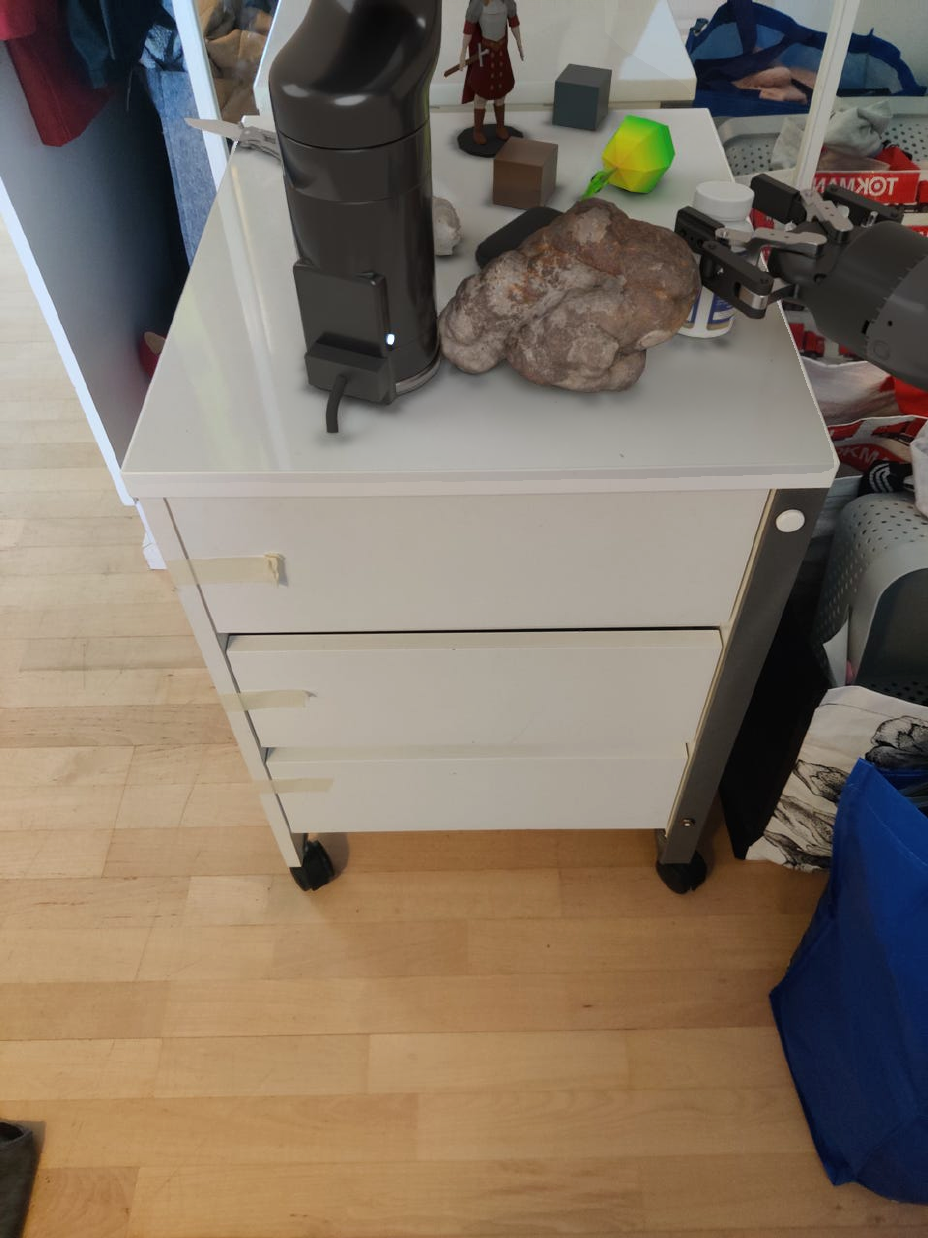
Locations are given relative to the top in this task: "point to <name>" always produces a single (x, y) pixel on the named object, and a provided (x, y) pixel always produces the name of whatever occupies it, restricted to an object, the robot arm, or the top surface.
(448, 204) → the seashell
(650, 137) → the apple
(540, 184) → the walnut block
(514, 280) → the rock
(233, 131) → the knife
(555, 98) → the slate block
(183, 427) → the top surface
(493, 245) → the carrying case
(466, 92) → the figurine
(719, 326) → the pill bottle
